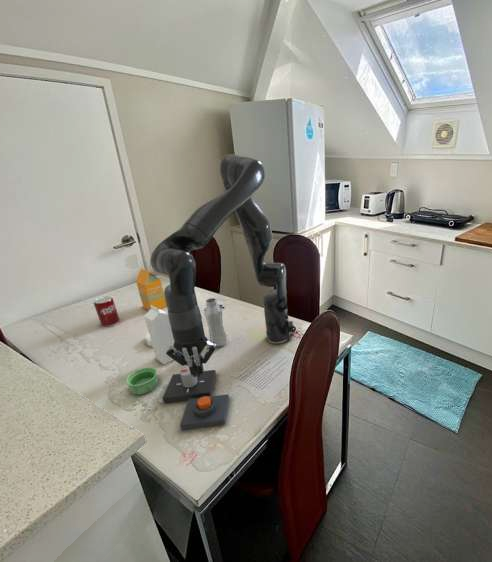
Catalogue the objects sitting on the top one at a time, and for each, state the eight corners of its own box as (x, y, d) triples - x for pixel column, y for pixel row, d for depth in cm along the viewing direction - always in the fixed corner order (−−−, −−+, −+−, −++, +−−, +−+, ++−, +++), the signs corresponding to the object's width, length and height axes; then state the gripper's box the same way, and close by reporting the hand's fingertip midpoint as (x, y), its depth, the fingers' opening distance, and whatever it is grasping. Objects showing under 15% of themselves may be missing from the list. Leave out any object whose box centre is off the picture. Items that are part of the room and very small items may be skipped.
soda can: (97, 325, 141) (89, 301, 136) (112, 317, 147) (105, 295, 142) (108, 328, 139) (100, 304, 134) (123, 320, 145) (116, 297, 140)
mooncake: (168, 328, 138) (167, 321, 137) (184, 336, 132) (182, 329, 130) (141, 341, 129) (139, 333, 128) (156, 350, 123) (154, 343, 121)
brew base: (216, 375, 109) (215, 369, 108) (210, 398, 99) (209, 391, 98) (174, 380, 107) (172, 374, 106) (164, 404, 97) (162, 397, 96)
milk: (171, 351, 123) (158, 301, 114) (179, 357, 119) (167, 305, 111) (155, 359, 118) (141, 307, 109) (164, 365, 115) (149, 312, 106)
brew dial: (199, 377, 104) (196, 365, 102) (195, 387, 100) (192, 374, 98) (185, 378, 104) (182, 366, 102) (181, 388, 100) (177, 375, 98)
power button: (212, 399, 94) (211, 395, 93) (210, 408, 91) (209, 404, 90) (199, 401, 93) (198, 396, 93) (197, 410, 90) (196, 406, 89)
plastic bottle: (222, 349, 123) (214, 304, 115) (207, 347, 124) (198, 303, 116) (230, 340, 129) (223, 297, 121) (215, 338, 130) (207, 295, 122)
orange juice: (158, 301, 162) (149, 265, 154) (167, 306, 157) (158, 269, 149) (142, 307, 156) (132, 270, 148) (151, 312, 151) (141, 274, 143)
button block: (229, 399, 99) (227, 389, 97) (225, 425, 90) (223, 414, 88) (190, 404, 97) (187, 394, 96) (181, 430, 88) (178, 420, 86)
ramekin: (127, 399, 99) (124, 388, 98) (131, 381, 107) (127, 371, 105) (158, 391, 103) (155, 380, 101) (160, 374, 110) (157, 364, 108)
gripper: (153, 331, 76) (168, 387, 83) (210, 326, 78) (220, 381, 85) (163, 316, 83) (176, 368, 90) (215, 312, 85) (224, 363, 92)
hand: (198, 374), depth 87 cm, fingers closed
